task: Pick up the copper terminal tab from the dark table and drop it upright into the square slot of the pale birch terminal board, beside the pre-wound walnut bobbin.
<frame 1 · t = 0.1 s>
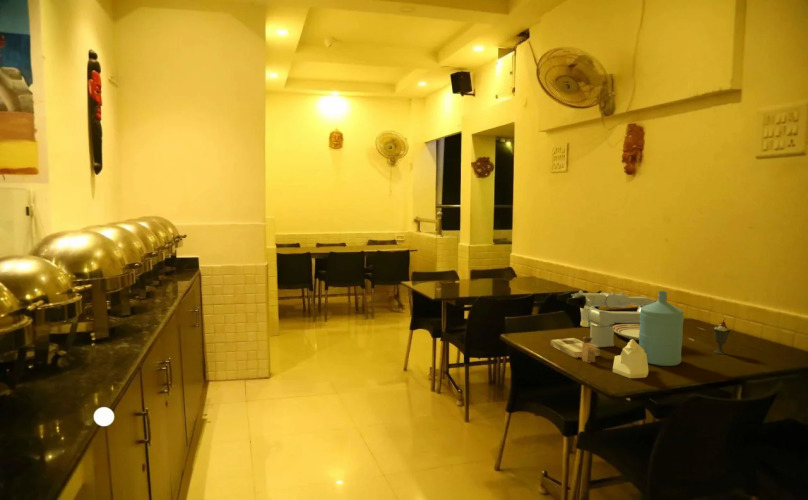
hand: (562, 299, 222), 22 cm above the table, tool horizontal, fingers open, 7 cm apart
beer glass: (586, 326, 262), on the table
water jug: (659, 360, 208), on the table
sundae: (720, 353, 218), on the table
copper tab: (588, 361, 207), on the table
dinner plate: (643, 337, 242), on the table
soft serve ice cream: (632, 373, 194), on the table
terminal board: (574, 350, 221), on the table
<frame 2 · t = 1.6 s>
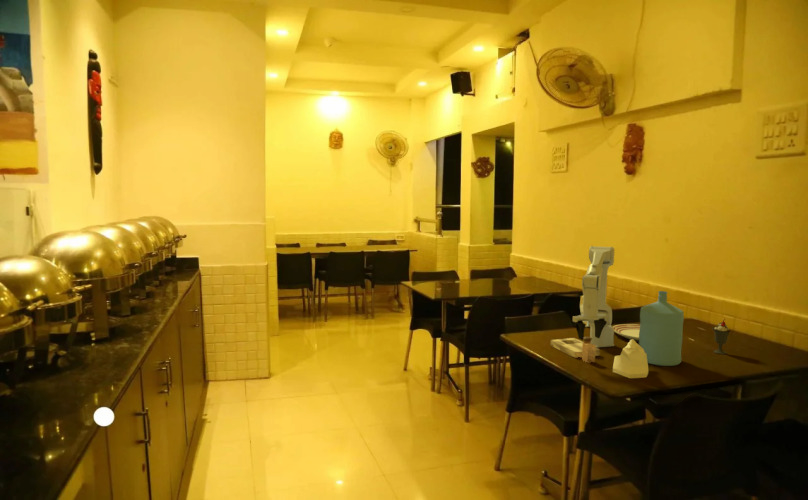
hand: (589, 338, 206), 9 cm above the table, tool pointing down, fingers open, 7 cm apart
nothing on the table moved.
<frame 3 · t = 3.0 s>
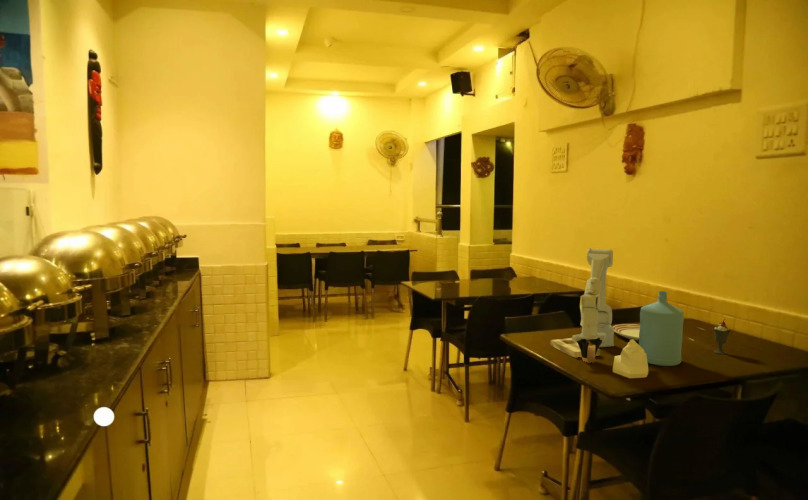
hand: (588, 357, 207), 2 cm above the table, tool pointing down, fingers closed on copper tab, 3 cm apart
copper tab: (588, 361, 207), on the table, touching gripper
everything else where it was.
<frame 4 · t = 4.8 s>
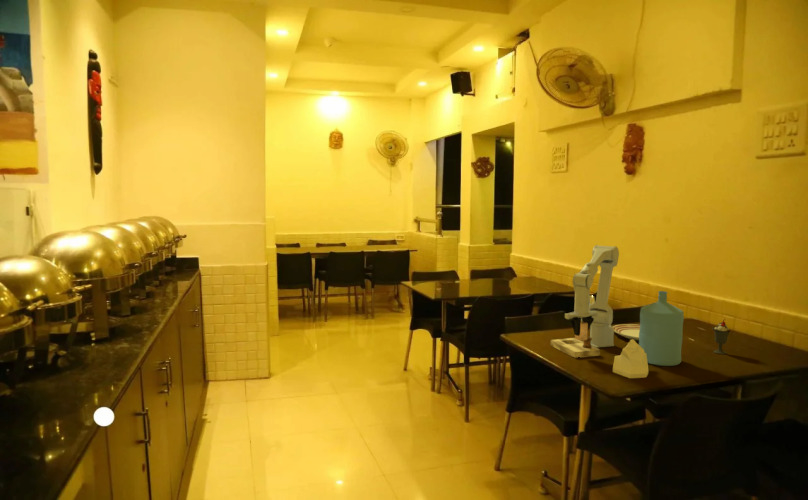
hand: (580, 334, 214), 9 cm above the table, tool pointing down, fingers closed on copper tab, 3 cm apart
copper tab: (581, 339, 214), point 7 cm above the table, touching gripper
everything else where it was.
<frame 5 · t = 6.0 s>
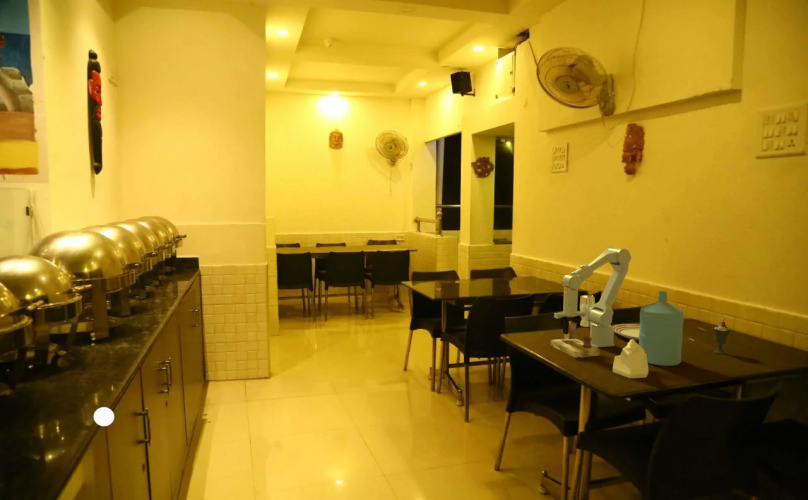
hand: (569, 333, 225), 6 cm above the table, tool pointing down, fingers closed on copper tab, 3 cm apart
copper tab: (569, 338, 224), point 4 cm above the table, touching gripper
everything else where it was.
when the fingers open (3 cm above the table, at t = 6.9 s): copper tab drops 1 cm, resting in terminal board.
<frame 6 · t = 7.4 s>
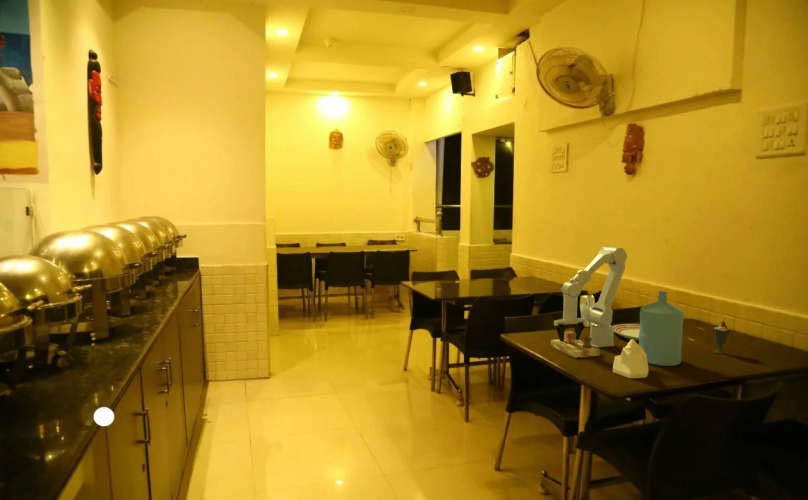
hand: (569, 340, 225), 3 cm above the table, tool pointing down, fingers open, 7 cm apart
copper tab: (569, 348, 225), resting in terminal board
everything else where it was.
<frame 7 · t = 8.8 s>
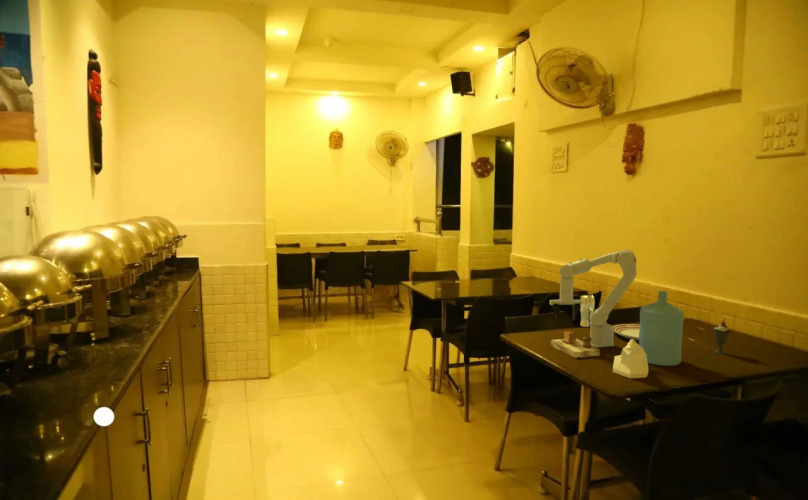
hand: (565, 320, 235), 9 cm above the table, tool pointing down, fingers open, 7 cm apart
nothing on the table moved.
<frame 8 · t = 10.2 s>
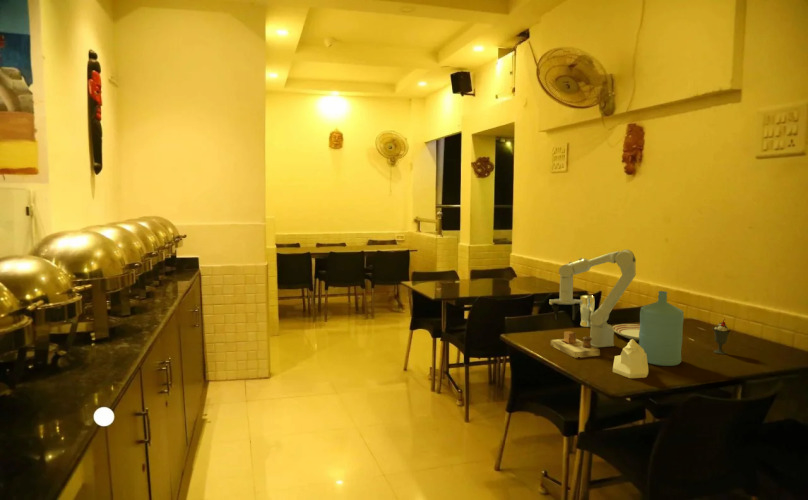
hand: (565, 319, 236), 9 cm above the table, tool pointing down, fingers open, 7 cm apart
nothing on the table moved.
at the end: copper tab 0.5 cm from the target spot on the terminal board, point 0.0 cm above the terminal board's base; copper tab tilted 0°; the gripper is holding nothing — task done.
